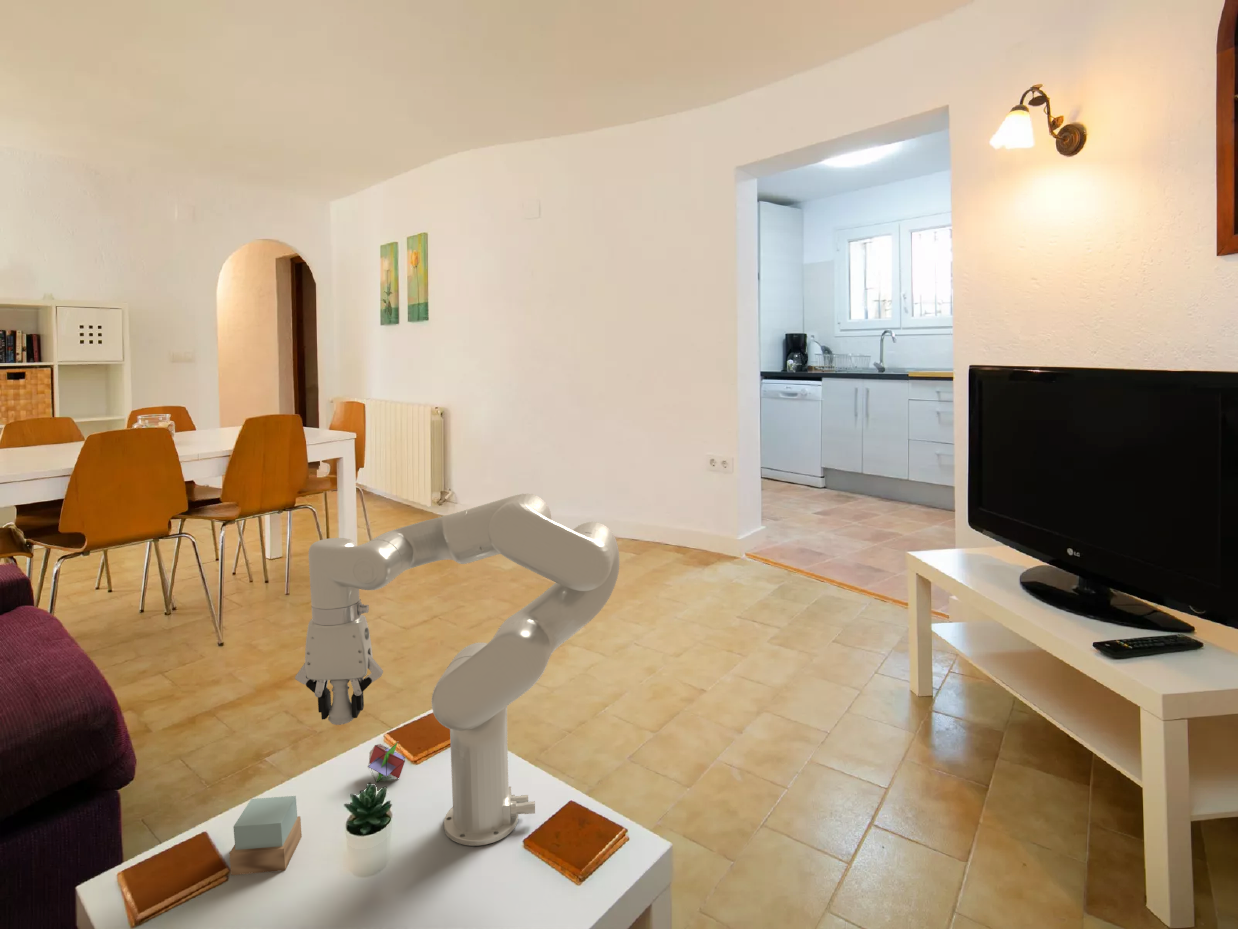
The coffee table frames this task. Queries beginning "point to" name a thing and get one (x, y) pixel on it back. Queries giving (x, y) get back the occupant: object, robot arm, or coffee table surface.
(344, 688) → the rook chess piece
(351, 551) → the robot arm
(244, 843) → the tower top
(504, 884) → the coffee table surface
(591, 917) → the coffee table surface
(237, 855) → the tower base
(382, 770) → the geometric puzzle
